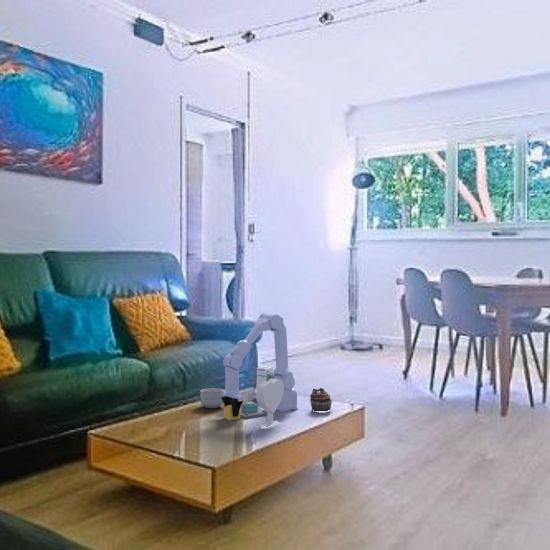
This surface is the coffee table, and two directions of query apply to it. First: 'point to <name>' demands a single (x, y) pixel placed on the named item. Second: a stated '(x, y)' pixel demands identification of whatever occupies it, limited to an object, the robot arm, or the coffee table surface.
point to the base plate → (251, 415)
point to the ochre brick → (230, 413)
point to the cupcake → (320, 400)
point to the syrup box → (264, 374)
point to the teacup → (211, 397)
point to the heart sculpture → (270, 397)
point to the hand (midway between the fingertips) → (232, 414)
